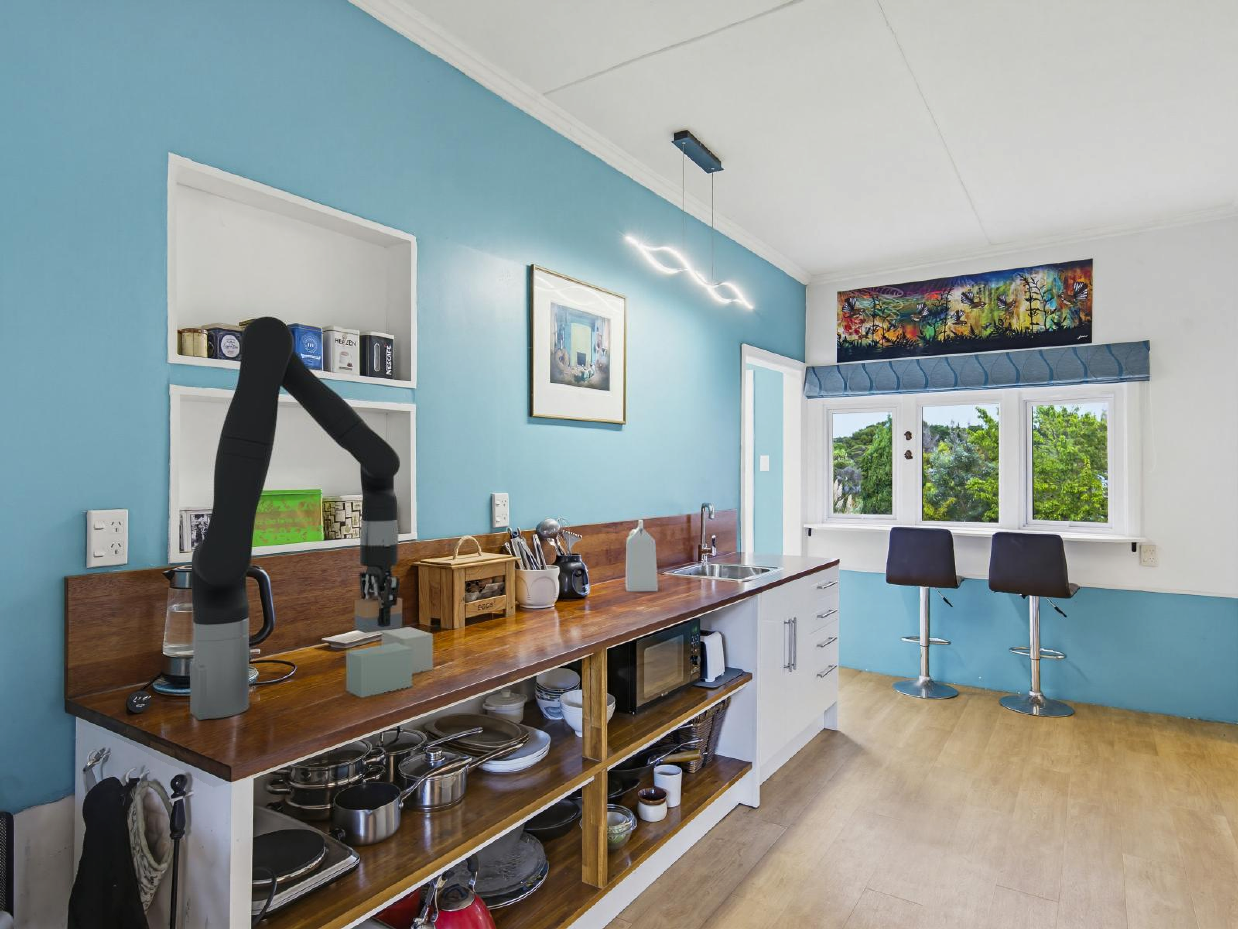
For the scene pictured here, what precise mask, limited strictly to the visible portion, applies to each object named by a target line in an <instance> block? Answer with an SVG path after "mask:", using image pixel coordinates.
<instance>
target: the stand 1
mask: <svg viewBox="0 0 1238 929" xmlns="http://www.w3.org/2000/svg"><path fill="white" fill-rule="evenodd" d="M345 654H346V656H345V657H346V658H345V660H346V662H345V664H346V673H345V674H346V675H345V676H346V678H345V681H346V684H345V685H346V688H345V689H346V690H345V691H346V692H348V691H349V693H351V694H352V695H355V696H357V697H358V698H361V699H362V698H367V697H371V695H372V696H376V695H380V694H384V692H385V693H389V692H388V691H390V692H394V691H397V689H399V690H402V689H401V688H403V689H407V687H408V688H411V687H410V686H412V687H413V674H412V648H410V647H407V646H404V645H401V644H398V643H392V644H386V645H382V644H381V645H376V646H370V647H364V648H360V649H359V648H358V649H353V650H349V651H348V650H347V651H346V653H345ZM366 696H367V697H366Z"/></svg>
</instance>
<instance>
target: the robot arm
mask: <svg viewBox="0 0 1238 929" xmlns="http://www.w3.org/2000/svg"><path fill="white" fill-rule="evenodd" d="M294 347H295V338H294V335H293V333H292V331H291V329H290V327H289V326H288V325H287V324H286V323H285V322H284V321H283V320H280V319H279V318H277V317H273V316H261V317H258V318H256V319H254V320H252V321H250V322H249V323H248V324H247V325H246V326H245V328H244V329H243V331H242V333H241V339H240V350H241V354H240V362H239V363H240V364H239V373H238V378H237V379H238V380H237V384H236V388H235V390H234V394H233V396H232V399H231V402H230V404H229V406H228V410H227V413H226V415H225V419H224V422H223V426H222V429H221V432H220V436H219V440H218V444H217V449H216V454H215V460H214V461H215V462H214V473H213V504H212V511H211V514H210V519H209V521H208V526H207V529H206V532H205V535H204V538H202V540H201V541H199V542H198V543H197V545H196V547H194V550H193V552H192V555H191V556H192V557H191V605H192V613H193V616H192V618H193V661H191V662H189V663H190V664H189V675H190V676H189V678H190V680H189V686H190V687H189V701H190V702H189V705H190V706H189V707H190V708H189V709H190V710H189V712H190V714H191V715H192V716H193V717H195V718H196V719H197V720H198V721H202V720H208V719H222V718H228V717H233V716H235V715H239V714H241V713H243V712H246V711H247V710H248V709H250V639H249V638H250V606H249V605H250V604H249V600H248V594H247V593H248V592H247V573H248V571H249V569H250V567H251V562H252V553H253V543H254V542H253V540H254V531H255V521H256V517H257V511H258V506H259V503H260V500H261V496H262V494H263V490H264V487H265V483H266V478H267V476H268V471H269V467H270V463H271V459H272V454H273V449H274V445H275V444H274V442H275V437H276V429H277V421H278V408H279V397H280V391H281V388H282V389H284V390H285V391H286V392H287V393H288V394H289V395H290V396H292V397H293V399H294V400H295V401H296V402H297V403H298V404H300V406H301V407H302V408H303V409H304V410H305V411H306V412H307V414H309V415H310V417H312V418H313V419H312V420H314V421H315V422H316V423H317V424H318V425H319V426H320V427H321V429H322V430H323V431H324V432H325V433H326V434H327V436H329V437H330V438H331V439H332V440H333V441H334V442H335V443H336V444H337V445H338V446H340V447H341V448H342V449H344V450H346V451H347V452H349V454H350V455H351V456H352V457H353V458H354V459H355V460H356V461H357V462H358V463H359V465H360V466H359V468H360V469H359V472H360V483H361V491H362V501H361V526H360V531H359V532H360V534H359V538H360V540H359V542H360V543H359V564H360V565H361V566H363V567H366V571H360V572H359V573H358V574H359V575H358V576H359V587H360V596H361V598H360V599H370V598H373V594H375V597H376V598H378V602H379V608H380V609H379V626H380V627H386V626H389V625H390V617H391V607H392V606H395V605H397V598H399V597H398V596H399V590H400V580H401V579H400V577H398V576H396V577H394V576H393V572H392V571H393V570H392V567H393V566H395V565H398V563H399V529H398V528H399V527H398V498H397V496H396V493H395V475H397V473H398V472H399V469H400V466H401V460H400V457H399V455H398V453H397V452H396V450H395V449H394V448H393V447H392V446H391V445H390V444H389V443H388V442H387V441H386V440H384V439H383V438H382V437H381V436H380V435H379V434H378V433H376V432H375V431H374V430H373V429H372V428H370V426H369V425H368V424H367V423H366V422H365V421H364V419H363V418H362V417H361V416H360V414H358V413H357V412H356V410H354V408H353V407H352V406H351V405H350V404H349V403H348V402H346V400H345V399H343V398H342V397H341V396H340V395H339V394H338V393H337V392H336V391H334V390H333V389H332V388H330V386H328V385H326V383H324V382H323V381H322V380H321V379H320V378H318V377H317V376H316V375H315V374H314V373H313V372H312V371H311V369H309V368H308V366H307V365H306V364H305V362H304V361H303V360H302V359H301V358H300V356H299V355H298V353H297V352H296V350H295V348H294ZM392 596H393V599H392ZM383 597H384V599H383Z"/></svg>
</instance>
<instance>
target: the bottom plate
mask: <svg viewBox="0 0 1238 929" xmlns="http://www.w3.org/2000/svg"><path fill="white" fill-rule="evenodd" d="M353 628H354V630H355V631H359V632H361V633H364V634H368V633H374V632H382V631H388V630H394V629H400V628H403V612H402V613H400V614H392V615H391V617H390V625H389V626H386V627H380V626H379V616H377V617H370V618H364V617H360V616H357V615H355V614H354V627H353Z"/></svg>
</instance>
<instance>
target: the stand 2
mask: <svg viewBox="0 0 1238 929" xmlns="http://www.w3.org/2000/svg"><path fill="white" fill-rule="evenodd" d="M392 643H398V644H401V645H404V646H407V647H410V648H412V675H413V674H418V673H422V672H421V671H423V672H427V671H431V670H434V635H433V633H430V632H426V631H423V630H421V629H417V628H414V627H411V626H406V627H402V628H396V629H389V630H382V631H381V645H386V644H392Z"/></svg>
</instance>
